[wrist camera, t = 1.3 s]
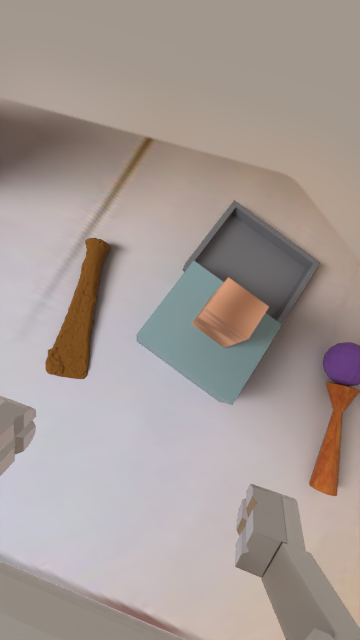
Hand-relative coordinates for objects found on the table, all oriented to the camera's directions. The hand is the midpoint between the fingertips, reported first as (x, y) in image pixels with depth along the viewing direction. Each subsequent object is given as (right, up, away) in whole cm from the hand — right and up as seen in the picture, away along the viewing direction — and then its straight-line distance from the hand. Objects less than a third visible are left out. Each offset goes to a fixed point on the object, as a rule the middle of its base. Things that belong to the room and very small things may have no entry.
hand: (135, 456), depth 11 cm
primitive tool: (-11, +6, +31) cm, 33 cm away
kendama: (+23, -9, +32) cm, 40 cm away
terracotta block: (+6, +4, +26) cm, 27 cm away
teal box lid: (+5, +2, +31) cm, 32 cm away
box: (+12, +13, +35) cm, 39 cm away
